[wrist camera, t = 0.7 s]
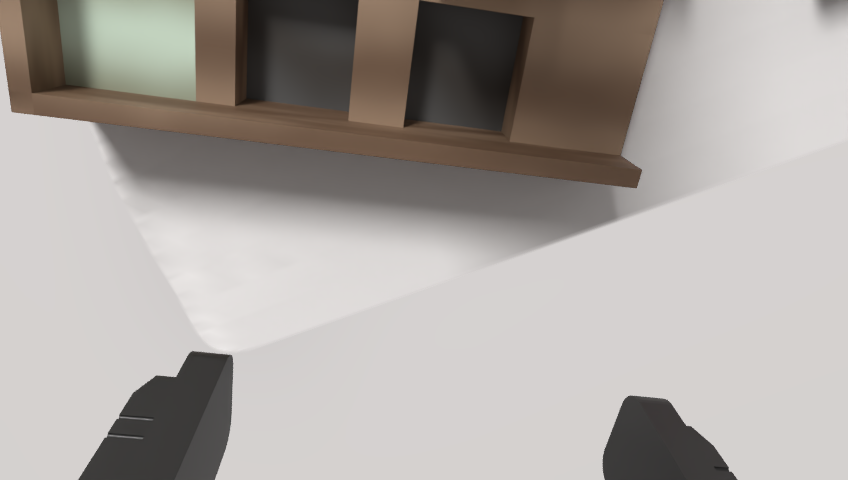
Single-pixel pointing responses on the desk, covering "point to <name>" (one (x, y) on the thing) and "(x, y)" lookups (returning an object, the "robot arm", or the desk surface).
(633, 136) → the desk surface
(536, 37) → the trap track
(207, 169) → the desk surface
